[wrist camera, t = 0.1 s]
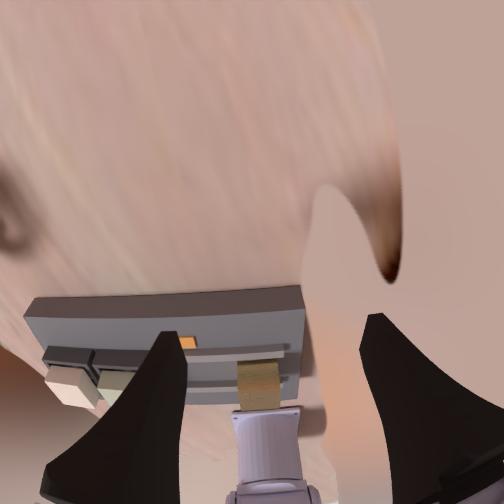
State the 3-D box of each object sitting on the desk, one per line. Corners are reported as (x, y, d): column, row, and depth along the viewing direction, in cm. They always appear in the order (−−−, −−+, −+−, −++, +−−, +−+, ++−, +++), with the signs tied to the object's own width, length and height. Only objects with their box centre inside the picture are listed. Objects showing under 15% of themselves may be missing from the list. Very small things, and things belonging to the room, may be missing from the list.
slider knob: (276, 377, 24) (280, 408, 22) (240, 380, 24) (241, 411, 22) (276, 356, 23) (280, 388, 20) (237, 359, 23) (237, 391, 20)
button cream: (100, 392, 23) (95, 408, 22) (68, 388, 23) (63, 403, 22) (83, 368, 21) (77, 386, 20) (50, 365, 21) (44, 381, 20)
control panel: (293, 378, 29) (299, 413, 25) (84, 378, 29) (74, 408, 25) (299, 285, 23) (309, 326, 19) (34, 298, 22) (14, 330, 19)
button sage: (156, 396, 23) (153, 414, 22) (118, 394, 23) (114, 411, 22) (142, 372, 21) (138, 391, 20) (102, 370, 21) (96, 388, 20)
